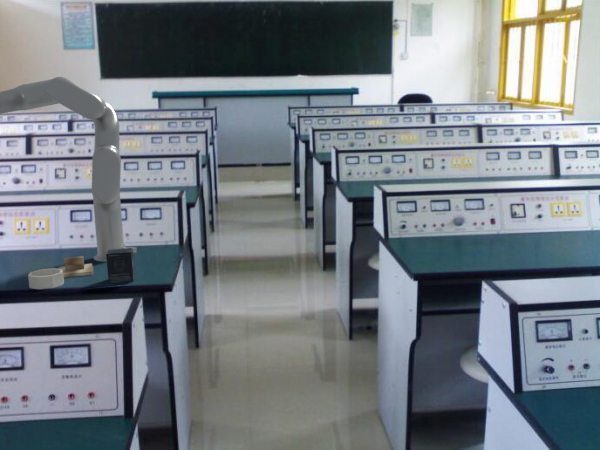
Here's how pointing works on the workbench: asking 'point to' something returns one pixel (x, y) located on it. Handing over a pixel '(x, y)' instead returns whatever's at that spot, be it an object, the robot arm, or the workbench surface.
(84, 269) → the beige plate with ridge
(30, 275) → the bowl
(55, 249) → the workbench surface
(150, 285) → the workbench surface
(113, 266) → the box
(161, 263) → the workbench surface
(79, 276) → the mat
